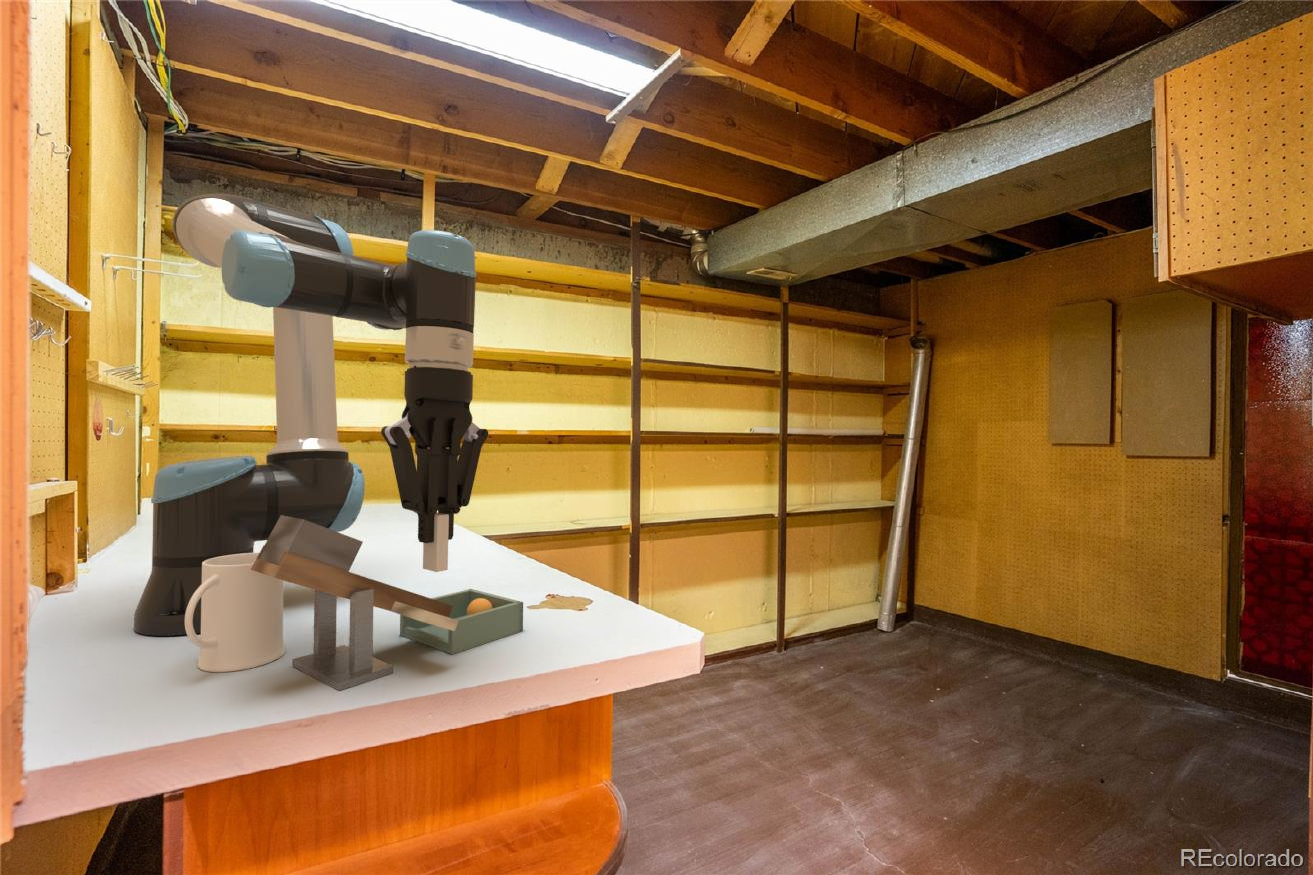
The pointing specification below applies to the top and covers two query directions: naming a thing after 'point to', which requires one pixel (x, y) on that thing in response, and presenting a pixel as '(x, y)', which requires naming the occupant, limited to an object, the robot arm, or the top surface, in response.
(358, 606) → the stand
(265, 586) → the mug
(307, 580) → the lever
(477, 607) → the ball
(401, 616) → the tray
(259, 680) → the top surface
